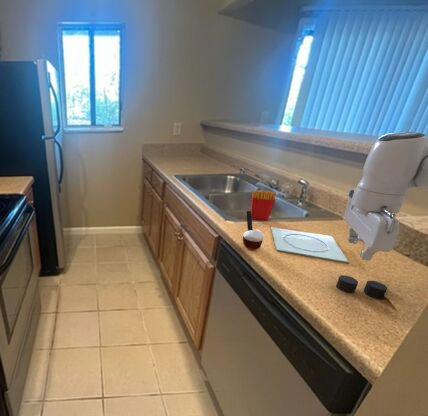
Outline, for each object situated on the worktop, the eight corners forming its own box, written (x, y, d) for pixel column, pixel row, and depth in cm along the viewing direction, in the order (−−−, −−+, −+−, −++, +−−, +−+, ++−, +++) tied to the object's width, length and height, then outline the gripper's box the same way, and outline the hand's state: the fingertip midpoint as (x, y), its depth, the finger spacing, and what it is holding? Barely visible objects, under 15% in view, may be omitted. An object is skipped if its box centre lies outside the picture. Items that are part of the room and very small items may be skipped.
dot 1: (351, 286, 77) (355, 277, 76) (356, 294, 74) (360, 285, 73) (334, 282, 79) (337, 273, 78) (338, 290, 75) (341, 281, 74)
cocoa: (262, 254, 94) (269, 222, 89) (242, 251, 96) (248, 219, 92) (258, 241, 102) (264, 212, 98) (240, 239, 104) (245, 210, 100)
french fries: (269, 217, 123) (275, 189, 119) (271, 221, 119) (277, 192, 115) (246, 215, 126) (251, 188, 121) (248, 218, 122) (253, 191, 117)
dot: (379, 291, 75) (383, 282, 74) (386, 300, 71) (390, 291, 70) (361, 288, 76) (364, 279, 75) (366, 296, 73) (370, 287, 72)
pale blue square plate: (331, 237, 105) (331, 235, 104) (348, 263, 88) (349, 261, 87) (270, 228, 113) (271, 226, 112) (276, 250, 96) (276, 249, 96)
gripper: (417, 218, 57) (392, 274, 62) (376, 191, 74) (359, 236, 79) (377, 213, 60) (356, 267, 65) (347, 188, 77) (332, 232, 82)
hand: (357, 250), depth 72 cm, fingers open, 8 cm apart
